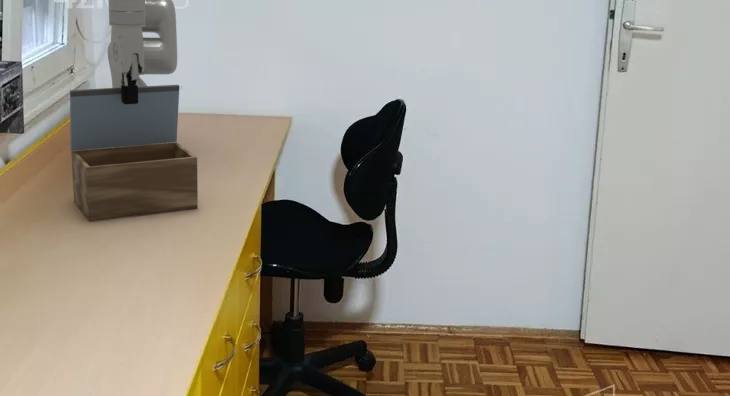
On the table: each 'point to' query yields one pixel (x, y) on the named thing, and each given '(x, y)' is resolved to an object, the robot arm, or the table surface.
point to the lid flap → (123, 117)
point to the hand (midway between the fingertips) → (130, 103)
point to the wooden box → (134, 180)
